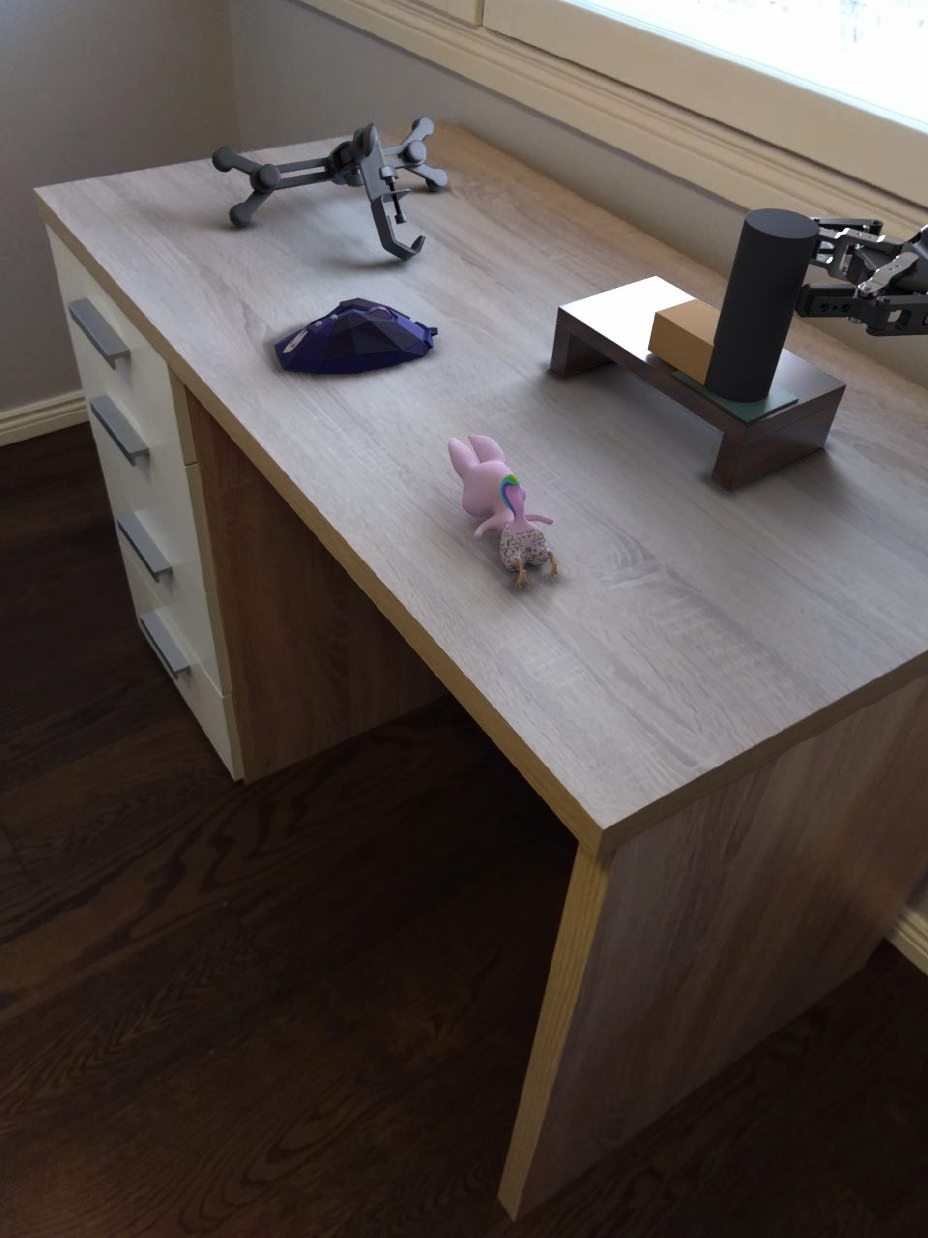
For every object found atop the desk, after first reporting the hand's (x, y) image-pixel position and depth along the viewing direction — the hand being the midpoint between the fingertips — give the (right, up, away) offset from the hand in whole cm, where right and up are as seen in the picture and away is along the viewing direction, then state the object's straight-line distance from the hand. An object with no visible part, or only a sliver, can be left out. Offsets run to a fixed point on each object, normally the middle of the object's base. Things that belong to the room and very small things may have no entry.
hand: (778, 272), depth 74 cm
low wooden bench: (-4, -6, +15) cm, 17 cm away
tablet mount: (-33, +18, +38) cm, 53 cm away
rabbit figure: (-21, -18, +2) cm, 28 cm away
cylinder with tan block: (-3, -5, +8) cm, 10 cm away
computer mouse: (-33, 0, +19) cm, 38 cm away
